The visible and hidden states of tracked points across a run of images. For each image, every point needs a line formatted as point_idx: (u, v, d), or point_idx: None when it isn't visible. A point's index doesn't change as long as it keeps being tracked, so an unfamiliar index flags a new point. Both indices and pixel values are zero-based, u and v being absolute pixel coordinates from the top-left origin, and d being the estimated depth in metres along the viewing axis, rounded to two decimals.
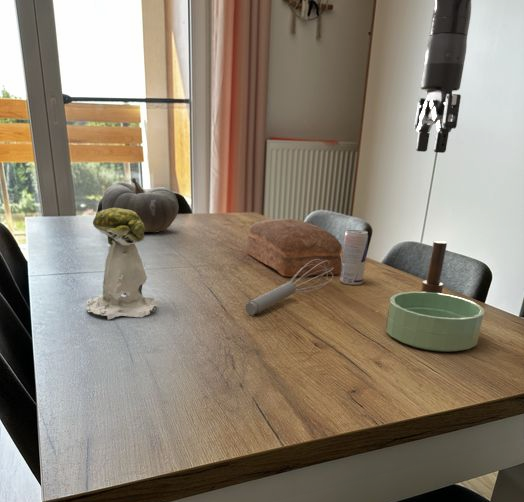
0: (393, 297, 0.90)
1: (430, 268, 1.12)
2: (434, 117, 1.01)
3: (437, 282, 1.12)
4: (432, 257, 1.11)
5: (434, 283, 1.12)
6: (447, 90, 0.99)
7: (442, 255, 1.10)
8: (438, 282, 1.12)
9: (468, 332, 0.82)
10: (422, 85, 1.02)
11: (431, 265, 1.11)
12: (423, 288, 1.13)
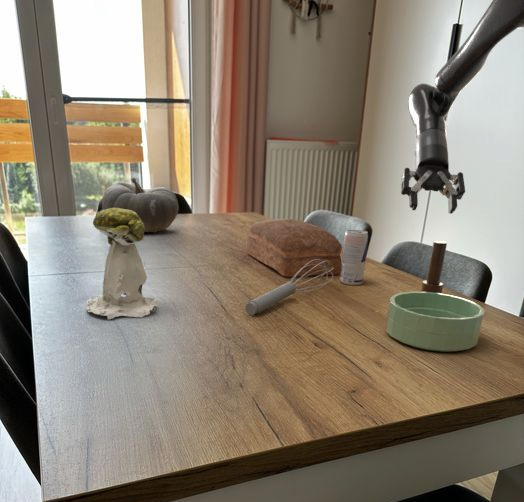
0: (393, 297, 0.90)
1: (430, 268, 1.12)
2: None
3: (437, 282, 1.12)
4: (432, 257, 1.11)
5: (434, 283, 1.12)
6: (416, 170, 1.22)
7: (442, 255, 1.10)
8: (438, 282, 1.12)
9: (468, 332, 0.82)
10: None
11: (431, 265, 1.11)
12: (423, 288, 1.13)
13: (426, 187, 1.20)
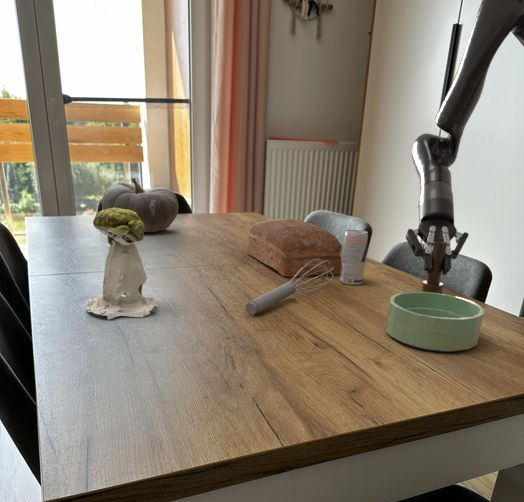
0: (393, 297, 0.90)
1: None
2: None
3: (437, 282, 1.12)
4: (432, 257, 1.11)
5: (434, 283, 1.12)
6: (419, 224, 1.16)
7: (442, 255, 1.10)
8: (438, 282, 1.12)
9: (468, 332, 0.82)
10: None
11: None
12: (423, 288, 1.13)
13: None
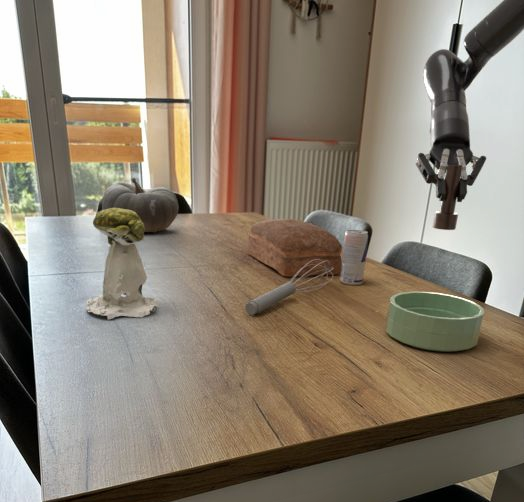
0: (393, 297, 0.90)
1: None
2: None
3: (451, 211, 1.01)
4: (446, 182, 0.99)
5: (448, 212, 1.01)
6: None
7: (457, 179, 0.98)
8: (452, 211, 1.01)
9: (468, 332, 0.82)
10: None
11: None
12: (435, 219, 1.02)
13: None
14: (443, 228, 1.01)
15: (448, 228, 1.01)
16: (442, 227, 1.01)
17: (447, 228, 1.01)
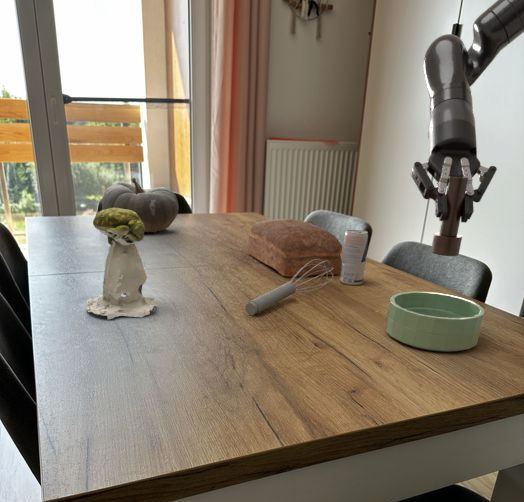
0: (393, 297, 0.90)
1: None
2: None
3: (454, 233, 0.82)
4: (447, 198, 0.81)
5: (450, 235, 0.82)
6: (429, 157, 0.86)
7: (461, 195, 0.80)
8: (455, 233, 0.83)
9: (468, 332, 0.82)
10: None
11: None
12: (435, 242, 0.84)
13: None
14: (444, 254, 0.83)
15: (450, 254, 0.83)
16: (443, 253, 0.83)
17: (449, 254, 0.83)
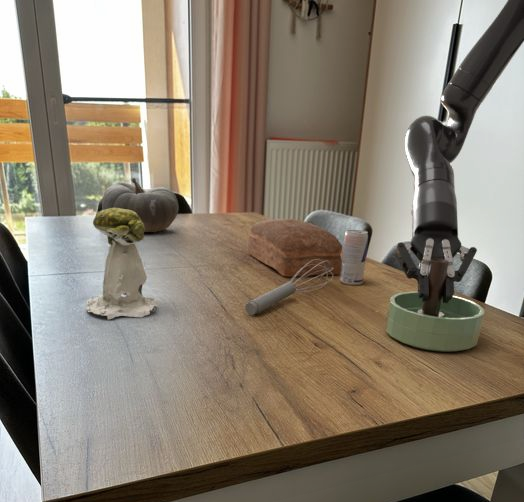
0: (393, 297, 0.90)
1: None
2: None
3: (436, 312, 0.86)
4: (429, 280, 0.84)
5: (432, 314, 0.86)
6: (412, 236, 0.89)
7: (442, 278, 0.83)
8: (437, 312, 0.86)
9: (468, 332, 0.82)
10: None
11: None
12: None
13: None
14: None
15: None
16: None
17: None
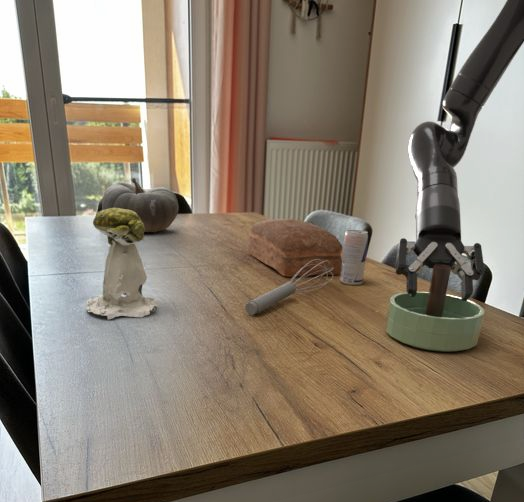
0: (393, 297, 0.90)
1: (429, 299, 0.87)
2: None
3: None
4: (432, 285, 0.86)
5: None
6: (416, 240, 0.91)
7: (445, 283, 0.85)
8: None
9: (468, 332, 0.82)
10: None
11: (430, 295, 0.87)
12: None
13: (429, 264, 0.88)
14: None
15: None
16: None
17: None
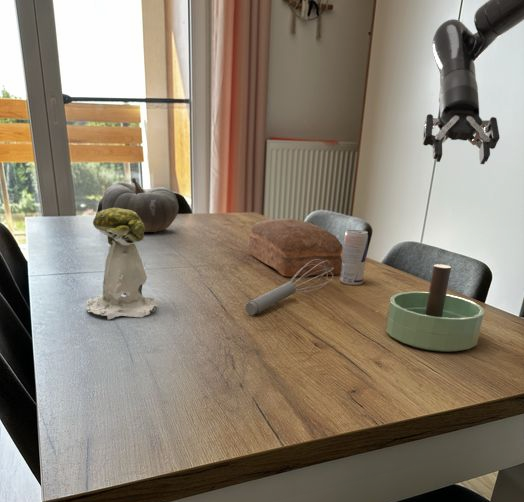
0: (393, 297, 0.90)
1: (429, 299, 0.87)
2: None
3: None
4: (432, 285, 0.86)
5: None
6: (440, 117, 1.05)
7: (445, 283, 0.85)
8: None
9: (468, 332, 0.82)
10: None
11: (430, 295, 0.87)
12: None
13: (452, 135, 1.03)
14: None
15: None
16: None
17: None
